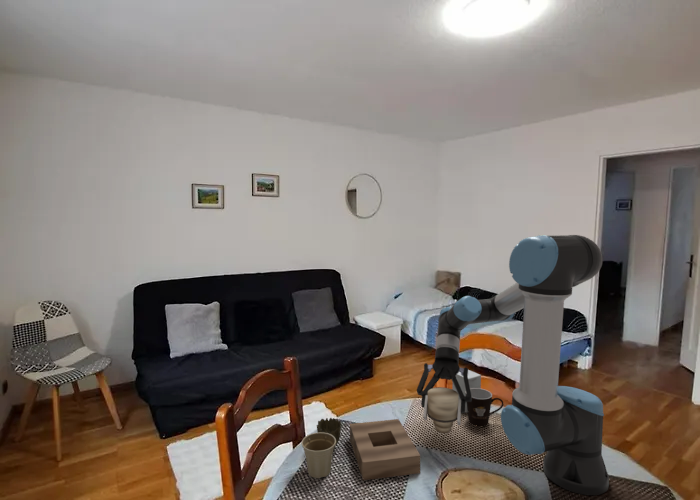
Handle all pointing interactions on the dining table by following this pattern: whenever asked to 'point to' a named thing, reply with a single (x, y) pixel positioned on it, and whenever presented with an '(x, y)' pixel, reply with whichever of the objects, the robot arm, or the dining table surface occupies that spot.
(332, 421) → the dark green spiky plant
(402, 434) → the board
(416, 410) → the dining table surface
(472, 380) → the supplement box
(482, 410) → the coffee mug
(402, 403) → the dining table surface
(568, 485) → the robot arm
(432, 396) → the peg
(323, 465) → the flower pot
